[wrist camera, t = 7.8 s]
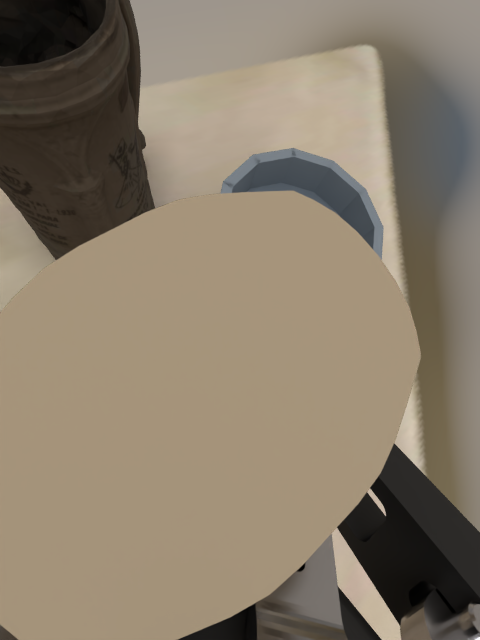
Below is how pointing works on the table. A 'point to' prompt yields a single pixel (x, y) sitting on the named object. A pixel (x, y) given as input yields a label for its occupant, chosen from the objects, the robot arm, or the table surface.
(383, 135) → the table surface
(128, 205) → the beer stein
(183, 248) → the handle
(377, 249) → the bowl
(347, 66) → the table surface
